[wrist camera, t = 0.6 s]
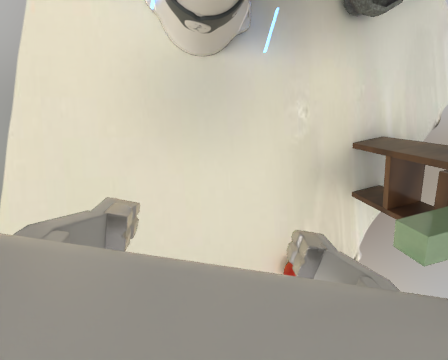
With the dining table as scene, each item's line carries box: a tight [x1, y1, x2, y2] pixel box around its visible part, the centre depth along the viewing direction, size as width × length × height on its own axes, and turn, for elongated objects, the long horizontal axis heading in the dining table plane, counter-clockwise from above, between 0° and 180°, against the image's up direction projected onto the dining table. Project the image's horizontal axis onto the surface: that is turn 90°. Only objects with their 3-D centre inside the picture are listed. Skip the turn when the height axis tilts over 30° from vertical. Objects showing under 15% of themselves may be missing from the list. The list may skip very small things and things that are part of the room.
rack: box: [352, 137, 448, 219], centre depth 43 cm, size 12×14×24 cm
